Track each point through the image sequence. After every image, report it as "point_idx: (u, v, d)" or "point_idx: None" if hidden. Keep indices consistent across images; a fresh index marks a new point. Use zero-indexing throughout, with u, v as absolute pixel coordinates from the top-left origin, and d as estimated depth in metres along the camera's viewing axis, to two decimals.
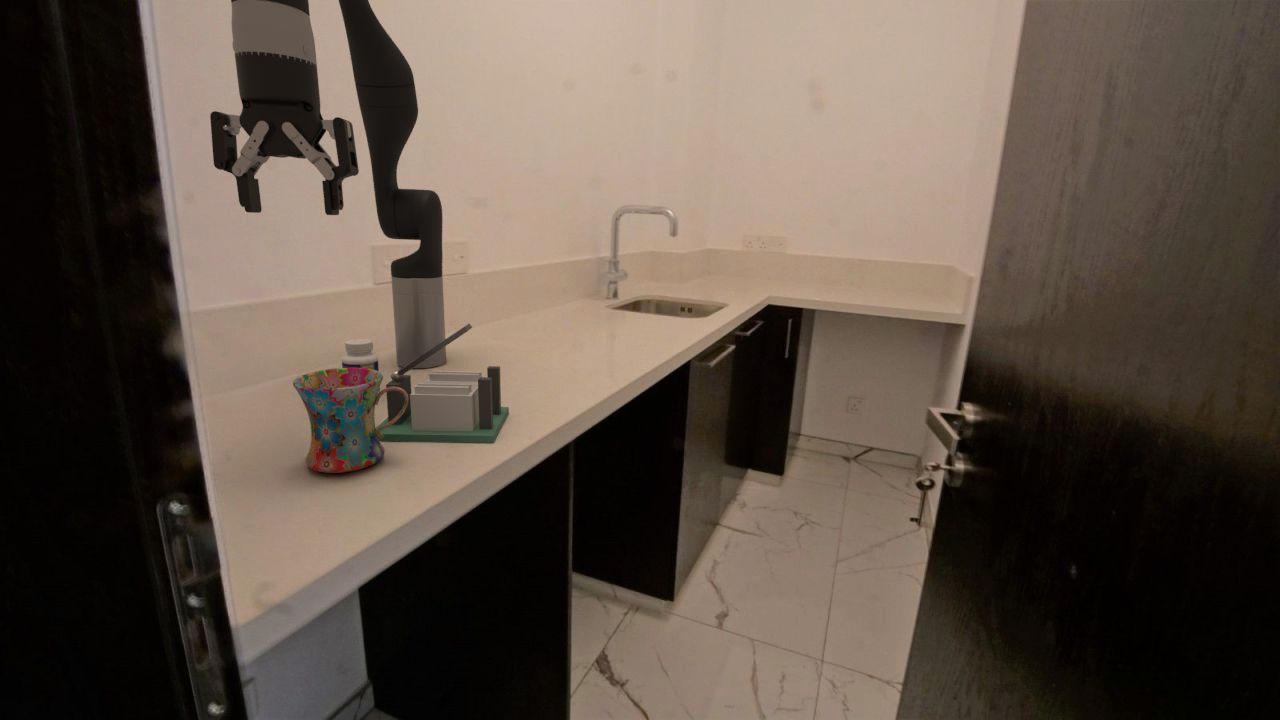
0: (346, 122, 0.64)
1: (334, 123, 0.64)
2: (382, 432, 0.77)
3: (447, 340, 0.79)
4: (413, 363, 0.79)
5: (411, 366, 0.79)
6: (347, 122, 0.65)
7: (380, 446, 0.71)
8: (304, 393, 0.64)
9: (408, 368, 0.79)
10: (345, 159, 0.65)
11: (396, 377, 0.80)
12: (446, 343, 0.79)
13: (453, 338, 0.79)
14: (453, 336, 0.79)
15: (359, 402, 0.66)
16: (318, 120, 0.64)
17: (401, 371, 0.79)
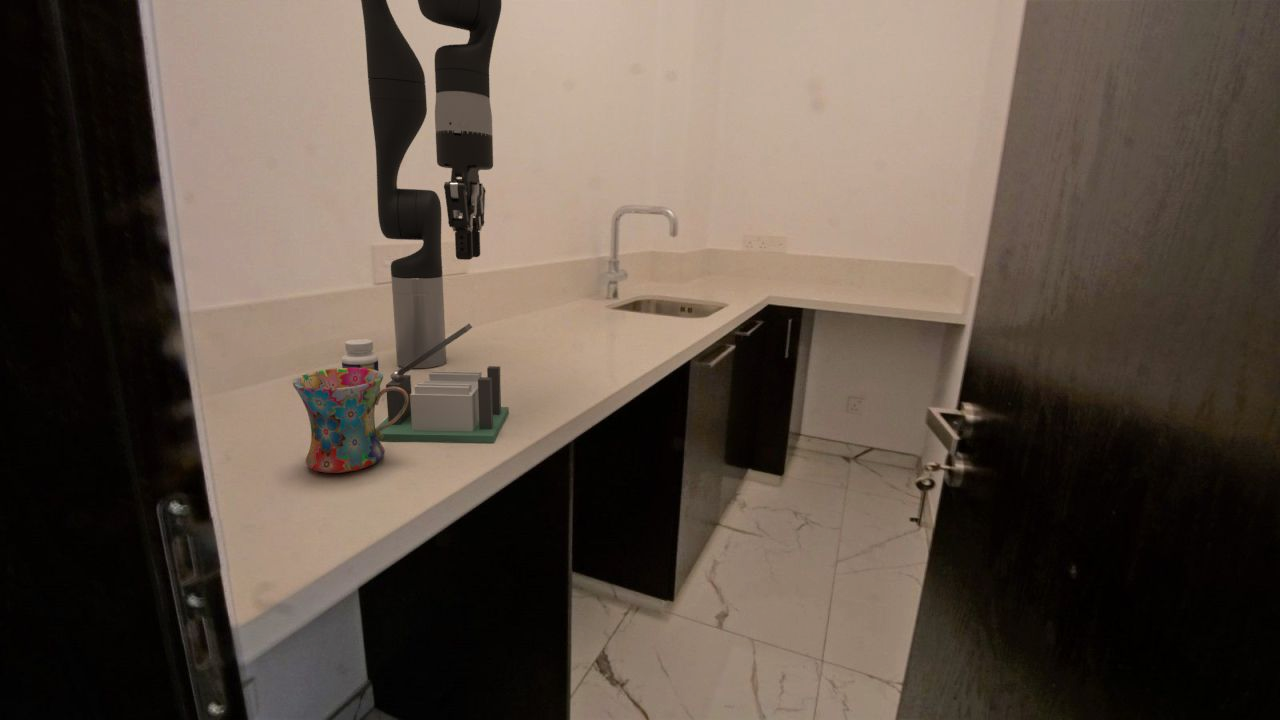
0: None
1: (483, 190, 0.88)
2: (382, 432, 0.77)
3: (447, 340, 0.79)
4: (413, 363, 0.79)
5: (411, 366, 0.79)
6: None
7: (380, 446, 0.71)
8: (304, 393, 0.64)
9: (408, 368, 0.79)
10: (483, 216, 0.88)
11: (396, 377, 0.80)
12: (446, 343, 0.79)
13: (453, 338, 0.79)
14: (453, 336, 0.79)
15: (359, 402, 0.66)
16: None
17: (401, 371, 0.79)
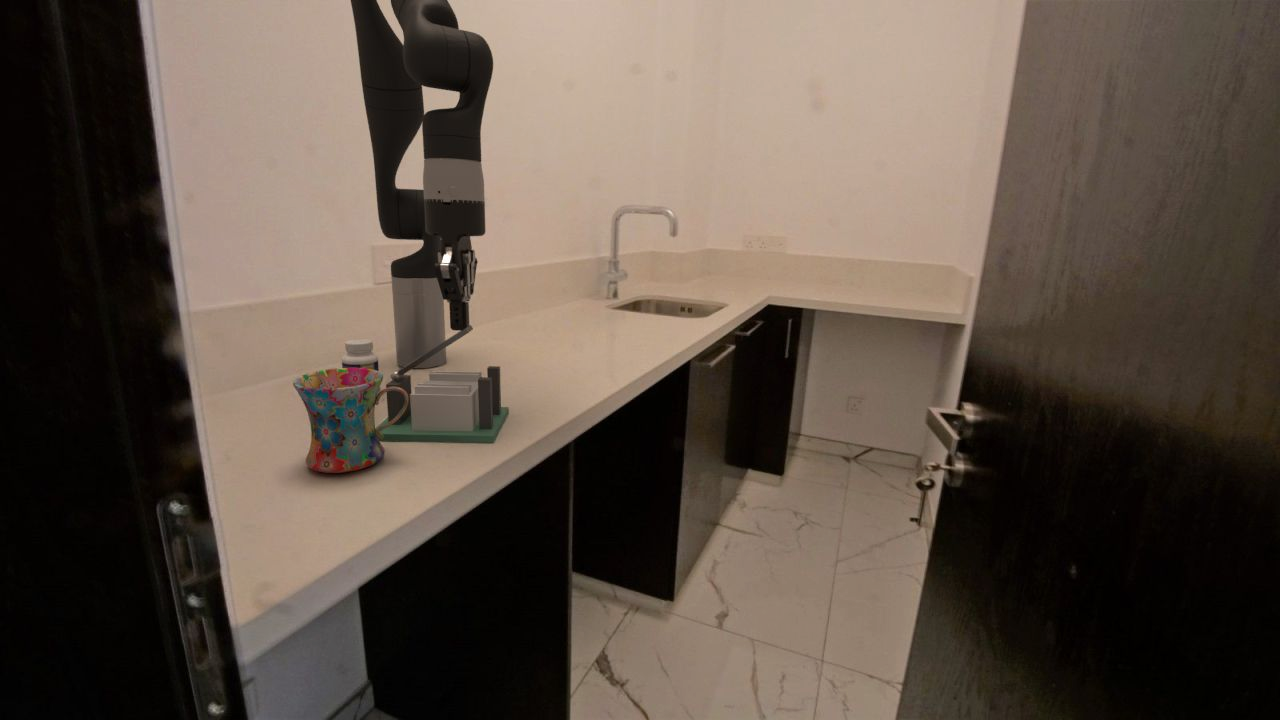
0: None
1: (475, 260, 0.83)
2: (382, 432, 0.77)
3: (448, 341, 0.79)
4: (413, 363, 0.79)
5: (411, 366, 0.79)
6: None
7: (380, 446, 0.71)
8: (304, 393, 0.64)
9: (408, 368, 0.79)
10: (473, 285, 0.82)
11: (396, 377, 0.80)
12: (447, 344, 0.79)
13: (454, 339, 0.79)
14: (454, 337, 0.79)
15: (359, 402, 0.66)
16: (470, 250, 0.81)
17: (401, 371, 0.79)
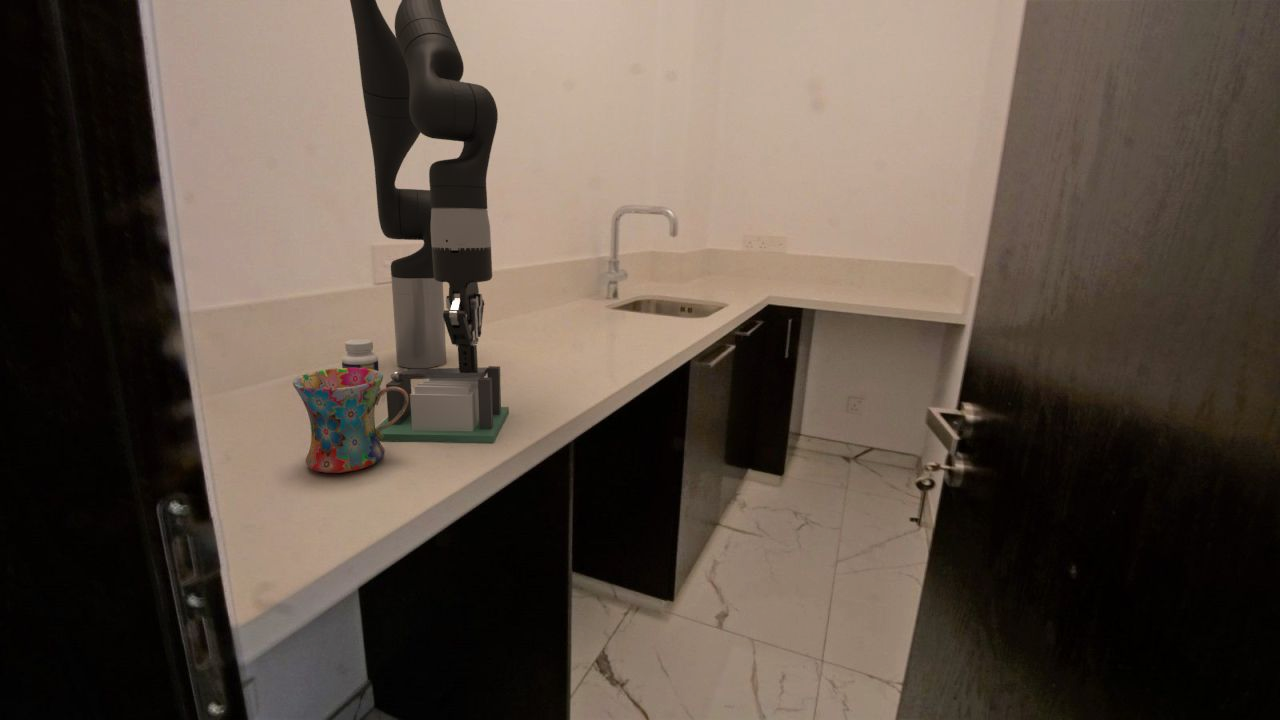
0: None
1: (482, 302, 0.84)
2: (382, 432, 0.77)
3: (461, 374, 0.80)
4: (418, 375, 0.80)
5: (415, 377, 0.80)
6: None
7: (380, 446, 0.71)
8: (304, 393, 0.64)
9: (411, 377, 0.80)
10: (480, 327, 0.83)
11: (395, 378, 0.80)
12: (458, 376, 0.80)
13: (467, 376, 0.80)
14: (468, 374, 0.80)
15: (359, 402, 0.66)
16: (477, 293, 0.83)
17: (403, 376, 0.80)
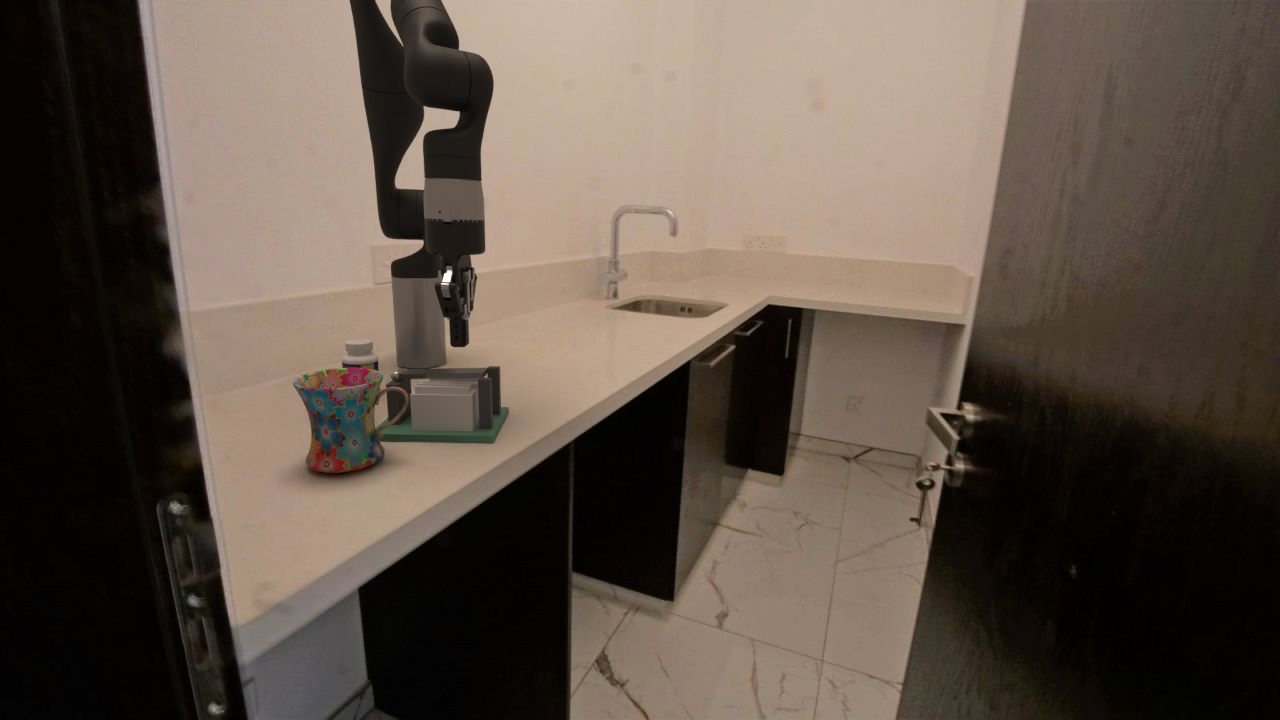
0: None
1: (475, 276, 0.83)
2: (382, 432, 0.77)
3: (461, 374, 0.80)
4: (418, 375, 0.80)
5: (415, 377, 0.80)
6: None
7: (380, 446, 0.71)
8: (304, 393, 0.64)
9: (411, 377, 0.80)
10: (472, 301, 0.82)
11: (395, 378, 0.80)
12: (458, 376, 0.80)
13: (467, 376, 0.80)
14: (468, 374, 0.80)
15: (359, 402, 0.66)
16: (470, 267, 0.82)
17: (403, 376, 0.80)
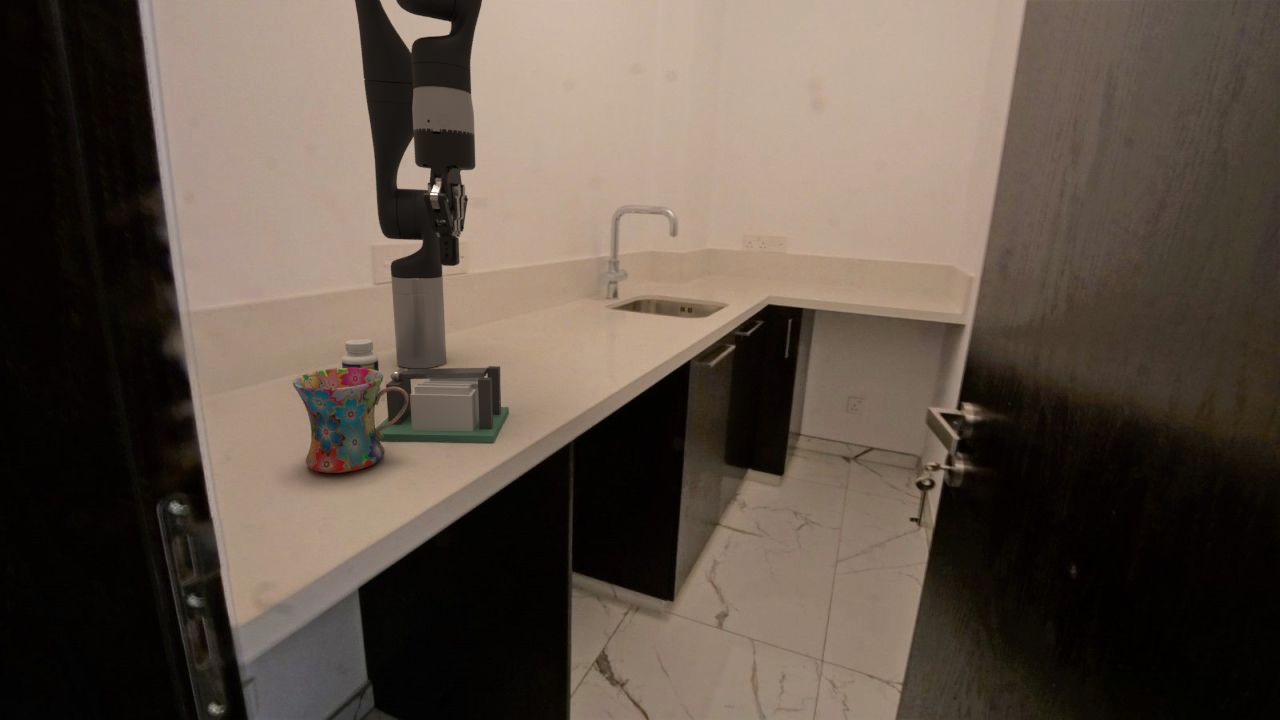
0: None
1: (465, 197, 0.83)
2: (382, 432, 0.77)
3: (461, 374, 0.80)
4: (418, 375, 0.80)
5: (415, 377, 0.80)
6: None
7: (380, 446, 0.71)
8: (304, 393, 0.64)
9: (411, 377, 0.80)
10: (463, 222, 0.82)
11: (395, 378, 0.80)
12: (458, 376, 0.80)
13: (467, 376, 0.80)
14: (468, 374, 0.80)
15: (359, 402, 0.66)
16: None
17: (403, 376, 0.80)
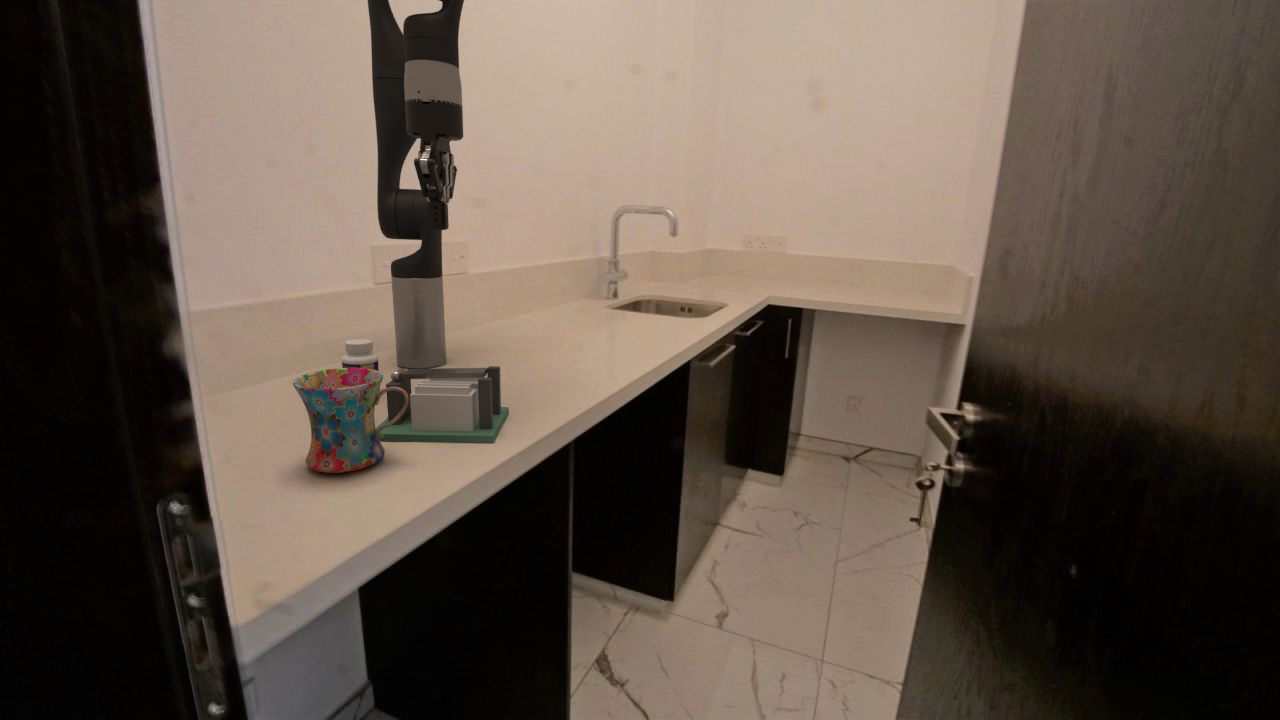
0: None
1: (455, 168, 0.88)
2: (382, 432, 0.77)
3: (461, 374, 0.80)
4: (418, 375, 0.80)
5: (415, 377, 0.80)
6: None
7: (380, 446, 0.71)
8: (304, 393, 0.64)
9: (411, 377, 0.80)
10: (452, 190, 0.87)
11: (395, 378, 0.80)
12: (458, 376, 0.80)
13: (467, 376, 0.80)
14: (468, 374, 0.80)
15: (359, 402, 0.66)
16: None
17: (403, 376, 0.80)
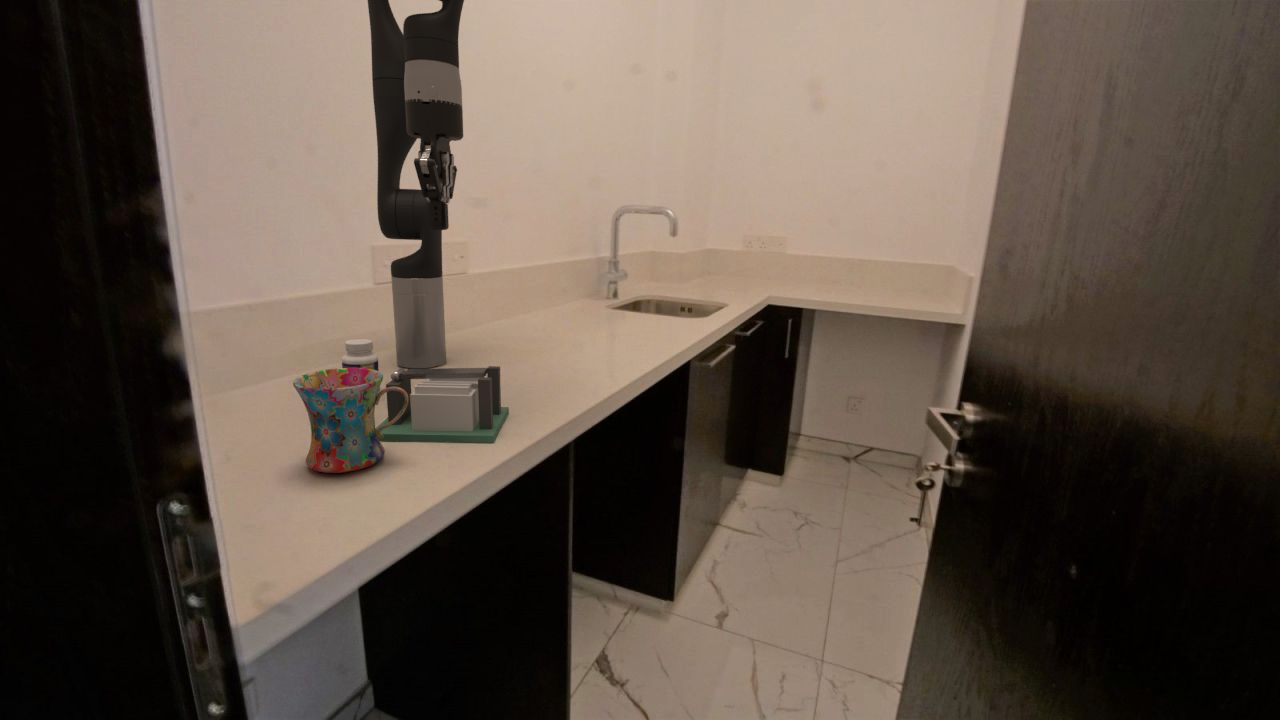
0: None
1: (455, 168, 0.88)
2: (382, 432, 0.77)
3: (461, 374, 0.80)
4: (418, 375, 0.80)
5: (415, 377, 0.80)
6: None
7: (380, 446, 0.71)
8: (304, 393, 0.64)
9: (411, 377, 0.80)
10: (452, 190, 0.87)
11: (395, 378, 0.80)
12: (458, 376, 0.80)
13: (467, 376, 0.80)
14: (468, 374, 0.80)
15: (359, 402, 0.66)
16: None
17: (403, 376, 0.80)
